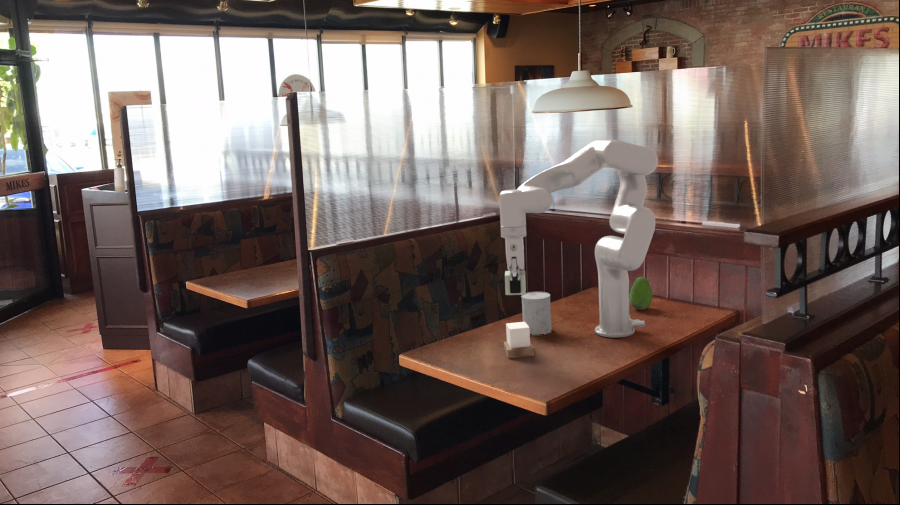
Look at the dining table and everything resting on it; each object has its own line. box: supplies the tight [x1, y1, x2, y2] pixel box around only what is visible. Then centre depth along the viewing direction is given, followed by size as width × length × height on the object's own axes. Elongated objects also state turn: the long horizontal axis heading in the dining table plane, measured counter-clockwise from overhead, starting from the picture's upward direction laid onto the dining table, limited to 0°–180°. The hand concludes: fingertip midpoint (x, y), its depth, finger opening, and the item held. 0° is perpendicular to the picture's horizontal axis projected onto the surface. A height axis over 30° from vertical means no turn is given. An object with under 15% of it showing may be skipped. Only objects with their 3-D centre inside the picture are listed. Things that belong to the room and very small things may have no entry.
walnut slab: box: [503, 340, 535, 359], centre depth 223 cm, size 8×8×3 cm
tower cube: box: [505, 321, 531, 348], centre depth 223 cm, size 6×6×6 cm
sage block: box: [504, 269, 527, 296], centre depth 219 cm, size 6×6×6 cm
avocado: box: [629, 276, 654, 311], centre depth 258 cm, size 8×8×12 cm
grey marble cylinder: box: [520, 291, 552, 336], centre depth 242 cm, size 10×10×12 cm
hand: (515, 289), depth 219 cm, fingers closed on sage block, 6 cm apart
